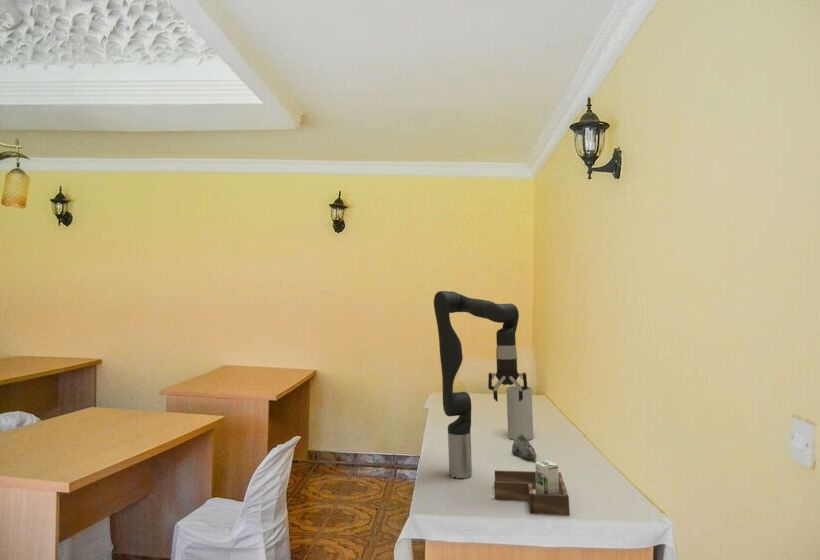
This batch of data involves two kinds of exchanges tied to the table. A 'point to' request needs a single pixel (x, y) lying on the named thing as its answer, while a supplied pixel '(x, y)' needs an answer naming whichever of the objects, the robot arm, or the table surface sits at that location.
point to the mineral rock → (523, 447)
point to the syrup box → (547, 477)
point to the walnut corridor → (530, 492)
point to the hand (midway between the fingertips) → (508, 400)
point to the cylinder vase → (519, 413)
